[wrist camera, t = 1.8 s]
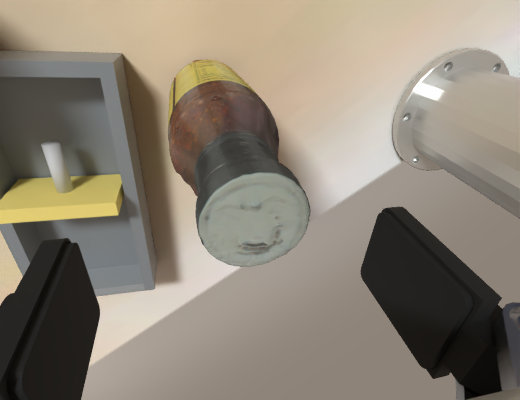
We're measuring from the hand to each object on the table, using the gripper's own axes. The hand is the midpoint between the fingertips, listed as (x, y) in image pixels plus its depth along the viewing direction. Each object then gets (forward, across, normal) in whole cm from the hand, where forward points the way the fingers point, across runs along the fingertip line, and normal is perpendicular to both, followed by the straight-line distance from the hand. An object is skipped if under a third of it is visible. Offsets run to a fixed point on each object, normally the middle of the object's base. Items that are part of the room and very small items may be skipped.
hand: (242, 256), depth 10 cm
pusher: (+20, +11, +5) cm, 23 cm away
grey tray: (+21, +11, +8) cm, 25 cm away
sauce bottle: (+21, -1, 0) cm, 21 cm away
